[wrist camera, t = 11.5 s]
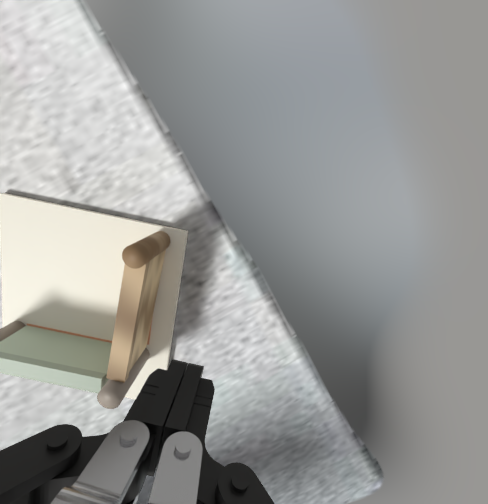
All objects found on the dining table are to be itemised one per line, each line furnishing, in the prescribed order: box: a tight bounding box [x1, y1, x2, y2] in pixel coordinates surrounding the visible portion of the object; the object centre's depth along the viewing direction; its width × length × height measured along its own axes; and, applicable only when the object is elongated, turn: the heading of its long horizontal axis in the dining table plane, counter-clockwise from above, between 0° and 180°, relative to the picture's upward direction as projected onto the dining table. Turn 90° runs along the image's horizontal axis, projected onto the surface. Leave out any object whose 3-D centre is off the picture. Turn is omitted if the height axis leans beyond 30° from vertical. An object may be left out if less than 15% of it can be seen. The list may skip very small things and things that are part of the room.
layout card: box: [0, 193, 188, 400], centre depth 29 cm, size 20×18×1 cm
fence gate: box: [106, 231, 171, 383], centre depth 25 cm, size 12×2×6 cm, turn 165°
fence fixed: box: [0, 321, 150, 409], centre depth 27 cm, size 2×15×7 cm, turn 78°
